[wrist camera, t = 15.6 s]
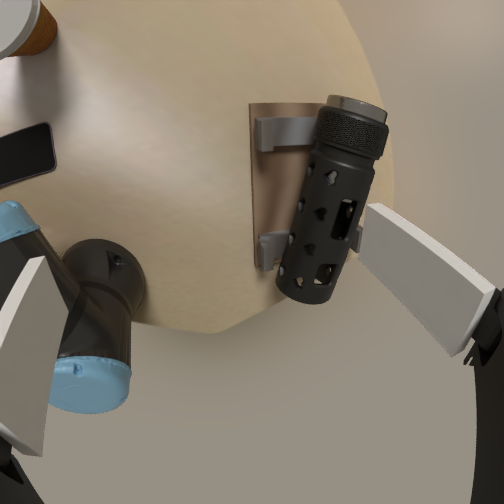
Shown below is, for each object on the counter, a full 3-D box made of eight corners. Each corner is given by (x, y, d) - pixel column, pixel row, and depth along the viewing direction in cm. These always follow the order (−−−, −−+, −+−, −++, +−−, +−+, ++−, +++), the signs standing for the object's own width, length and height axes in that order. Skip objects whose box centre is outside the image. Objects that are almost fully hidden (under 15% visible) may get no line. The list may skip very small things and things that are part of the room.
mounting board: (254, 263, 51) (264, 282, 46) (248, 103, 38) (260, 105, 33) (346, 246, 55) (361, 261, 50) (357, 105, 41) (378, 109, 37)
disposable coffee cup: (22, 7, 19) (-16, -11, 9) (77, 3, 23) (49, -24, 13) (3, 67, 23) (-42, 65, 13) (56, 66, 27) (19, 58, 17)
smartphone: (57, 169, 34) (-20, 193, 30) (59, 167, 35) (-16, 190, 31) (49, 120, 30) (-29, 148, 26) (52, 119, 31) (-25, 147, 27)
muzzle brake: (263, 267, 49) (286, 307, 40) (307, 91, 36) (349, 94, 28) (314, 268, 52) (343, 305, 43) (361, 109, 39) (407, 119, 31)
